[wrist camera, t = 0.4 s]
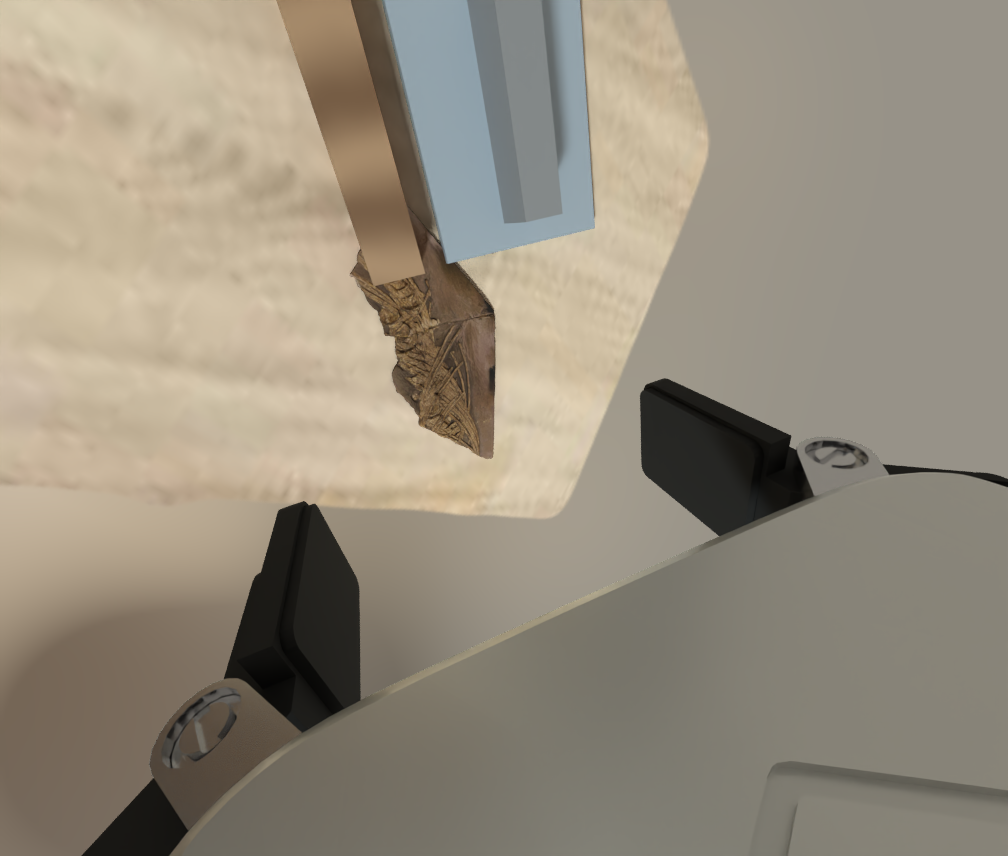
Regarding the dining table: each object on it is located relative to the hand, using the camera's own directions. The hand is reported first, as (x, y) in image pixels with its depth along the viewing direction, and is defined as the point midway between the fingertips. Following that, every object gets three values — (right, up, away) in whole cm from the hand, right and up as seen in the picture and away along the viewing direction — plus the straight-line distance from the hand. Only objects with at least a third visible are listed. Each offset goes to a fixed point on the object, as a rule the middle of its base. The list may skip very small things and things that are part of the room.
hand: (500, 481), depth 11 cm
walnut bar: (-11, +24, +17) cm, 31 cm away
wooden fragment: (-6, +9, +27) cm, 29 cm away
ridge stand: (0, +26, +20) cm, 33 cm away
